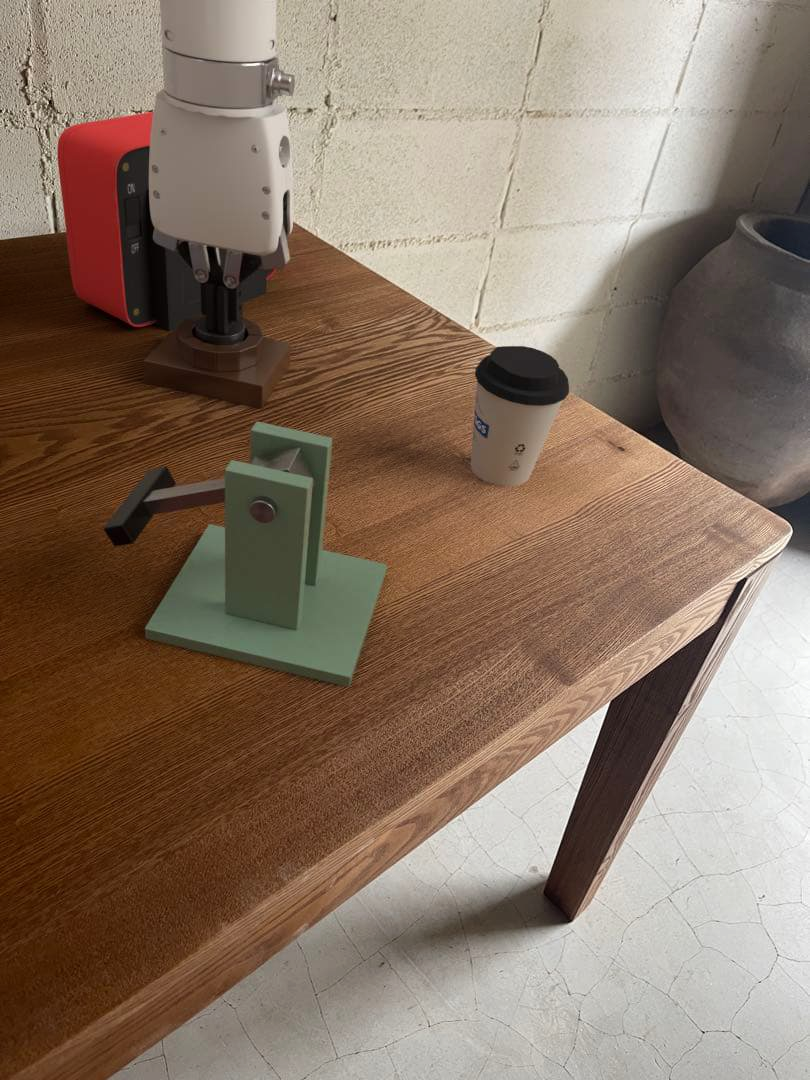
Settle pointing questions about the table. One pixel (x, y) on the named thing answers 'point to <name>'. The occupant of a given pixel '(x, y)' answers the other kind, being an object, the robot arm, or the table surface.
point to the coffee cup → (514, 412)
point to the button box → (219, 365)
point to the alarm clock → (124, 228)
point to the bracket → (273, 573)
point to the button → (215, 337)
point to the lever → (184, 494)
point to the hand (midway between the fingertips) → (222, 325)
